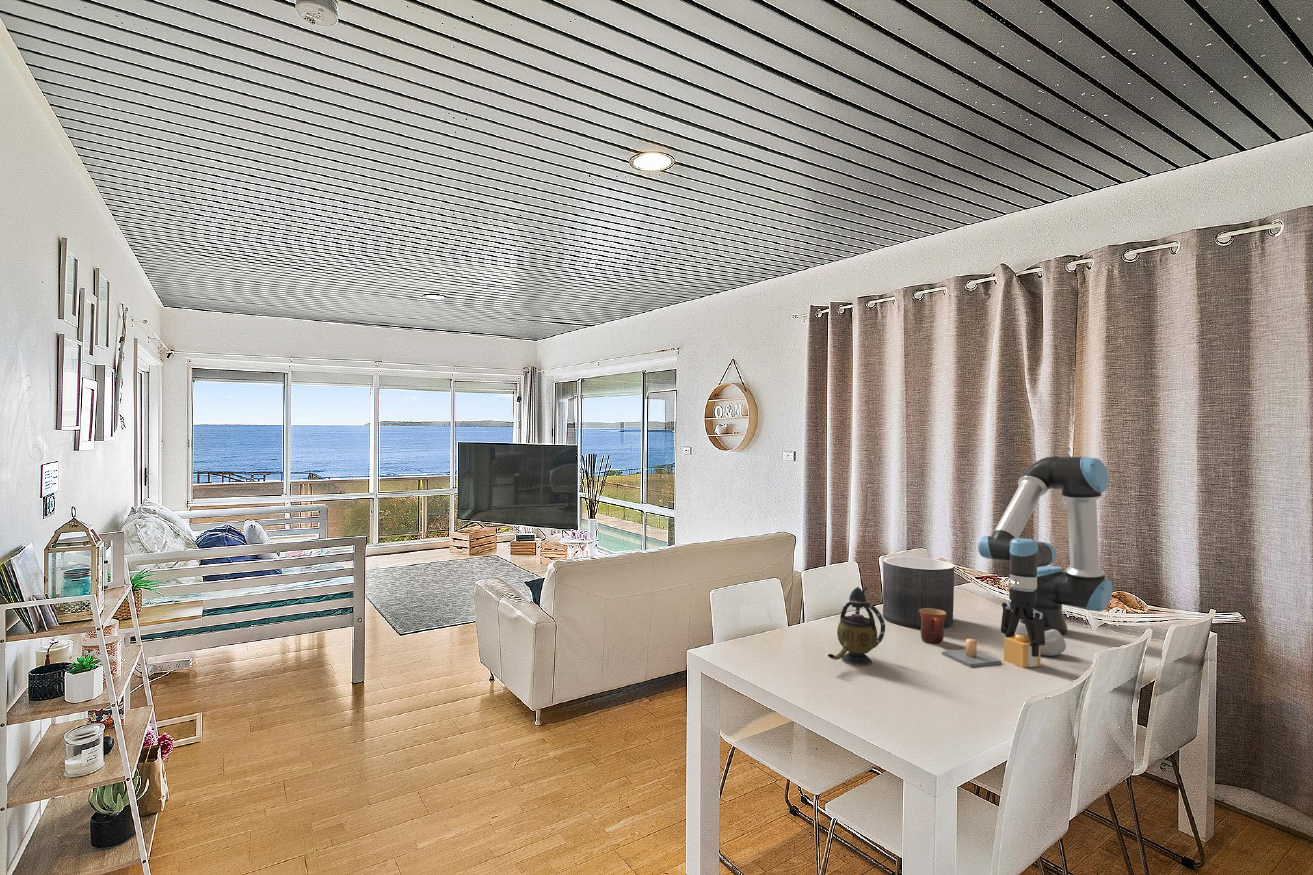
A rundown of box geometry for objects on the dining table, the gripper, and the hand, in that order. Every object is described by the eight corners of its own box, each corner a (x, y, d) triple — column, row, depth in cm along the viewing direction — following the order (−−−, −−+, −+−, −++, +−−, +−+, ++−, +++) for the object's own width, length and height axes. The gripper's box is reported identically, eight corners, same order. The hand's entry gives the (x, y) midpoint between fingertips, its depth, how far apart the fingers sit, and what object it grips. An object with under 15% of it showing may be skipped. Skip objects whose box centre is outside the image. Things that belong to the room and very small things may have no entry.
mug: (916, 636, 227) (916, 607, 227) (942, 638, 226) (943, 609, 226) (923, 647, 216) (923, 616, 216) (951, 649, 214) (951, 618, 214)
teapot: (888, 659, 203) (889, 585, 203) (849, 679, 185) (850, 598, 185) (852, 649, 211) (853, 579, 211) (812, 668, 193) (813, 591, 193)
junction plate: (971, 651, 212) (972, 633, 212) (1001, 663, 200) (1001, 644, 200) (941, 654, 208) (942, 635, 208) (970, 667, 197) (970, 647, 197)
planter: (965, 630, 236) (966, 570, 236) (895, 628, 236) (896, 568, 236) (936, 611, 261) (937, 557, 261) (873, 610, 261) (874, 556, 262)
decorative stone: (1001, 642, 213) (1007, 614, 218) (1004, 652, 220) (1010, 625, 224) (1062, 658, 203) (1067, 628, 207) (1063, 668, 209) (1068, 639, 214)
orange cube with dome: (1021, 657, 206) (1021, 631, 206) (1040, 665, 199) (1040, 637, 199) (1004, 659, 204) (1004, 632, 204) (1022, 667, 197) (1023, 639, 197)
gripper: (988, 582, 210) (987, 652, 210) (1041, 596, 191) (1040, 674, 191) (1006, 581, 212) (1005, 650, 212) (1060, 595, 193) (1059, 671, 193)
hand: (1021, 661), depth 202 cm, fingers closed on orange cube with dome, 7 cm apart
